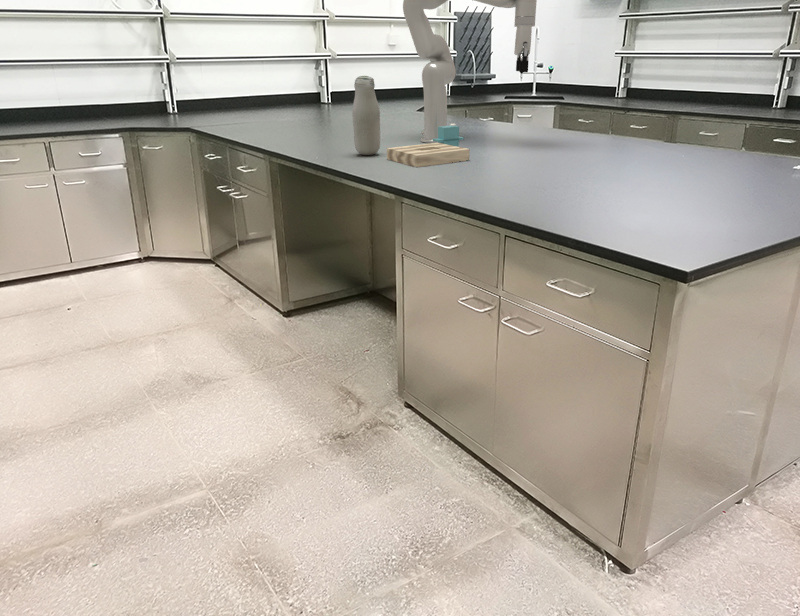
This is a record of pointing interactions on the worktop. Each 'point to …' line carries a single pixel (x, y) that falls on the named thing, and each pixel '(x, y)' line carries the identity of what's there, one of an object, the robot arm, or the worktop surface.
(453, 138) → the servo
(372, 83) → the grey bottle
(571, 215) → the worktop surface
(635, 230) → the worktop surface
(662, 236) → the worktop surface
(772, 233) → the worktop surface
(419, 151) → the tan flat slab
